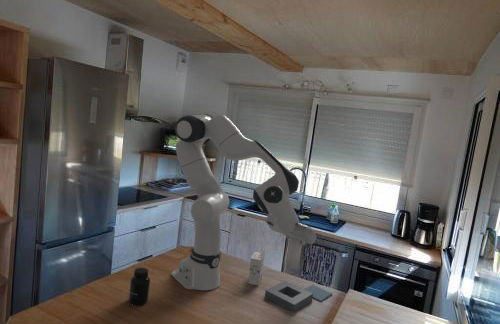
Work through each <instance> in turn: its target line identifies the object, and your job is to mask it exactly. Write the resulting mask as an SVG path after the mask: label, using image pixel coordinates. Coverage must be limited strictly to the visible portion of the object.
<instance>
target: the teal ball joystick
mask: <svg viewBox="0 0 500 324" xmlns="http://www.w3.org/2000/svg"><path fill="white" fill-rule="evenodd" d="M302 248H303V244H301V243H300V240H298V239H295V238H292V237H290V240H289V243H288V251H287V257H286V258H287V259H286V265H285V266H286V267H287V268H288V269H291V270H299V268H300V261H301V260H300V259H301V254H302Z"/></svg>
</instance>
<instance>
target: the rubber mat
mask: <svg viewBox="0 0 500 324" xmlns="http://www.w3.org/2000/svg"><path fill="white" fill-rule="evenodd" d="M303 289H304V290H306V291H309V292H311V293H313V298H312V299H314V300H316V301H318V302H320V303H322V302H323V301H325V300H326V299H328V298H329V297H331V296H332V295H333V293H332V292H331V291H328V290H325V289H324V288H321V287H319V286H317V285H314V284H311V285H309V286H307V287H305V288H303Z"/></svg>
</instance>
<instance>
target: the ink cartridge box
mask: <svg viewBox="0 0 500 324" xmlns="http://www.w3.org/2000/svg"><path fill="white" fill-rule="evenodd" d="M265 250H266V248H265V247H263V249H262V251H261V252H257V251H254V252H253V254H252V255H251V257H250V263H249V275H248V284H249V285H252V286H253V285H255V286H259V285H260V283H261V280H262V277H263V268H264V262H265V252H266V251H265Z"/></svg>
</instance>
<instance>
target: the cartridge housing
mask: <svg viewBox="0 0 500 324" xmlns="http://www.w3.org/2000/svg"><path fill="white" fill-rule="evenodd" d="M304 289H305V288H302V287H299V286H297V285H295V284H293V283H290V281H287V280H284V281H281V282H279V283H278V284H275V285H273V286H271V287H269V288H268V289H265V294H264V298H265V299H268V300H269V301H271V302H273V303H275V304H277V305H279V306H281V307H283V308H285V309H287V310H289V311H290V312H292V313H294V312H296V311H298V310H299V309H301V308H303V307H304V306H306V305H307V304H309V303H311V302H312V301H313V299H314V298H313V293H311V292H309V291H306V290H304ZM288 295H289V296H288ZM290 296H292V297H290Z"/></svg>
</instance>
